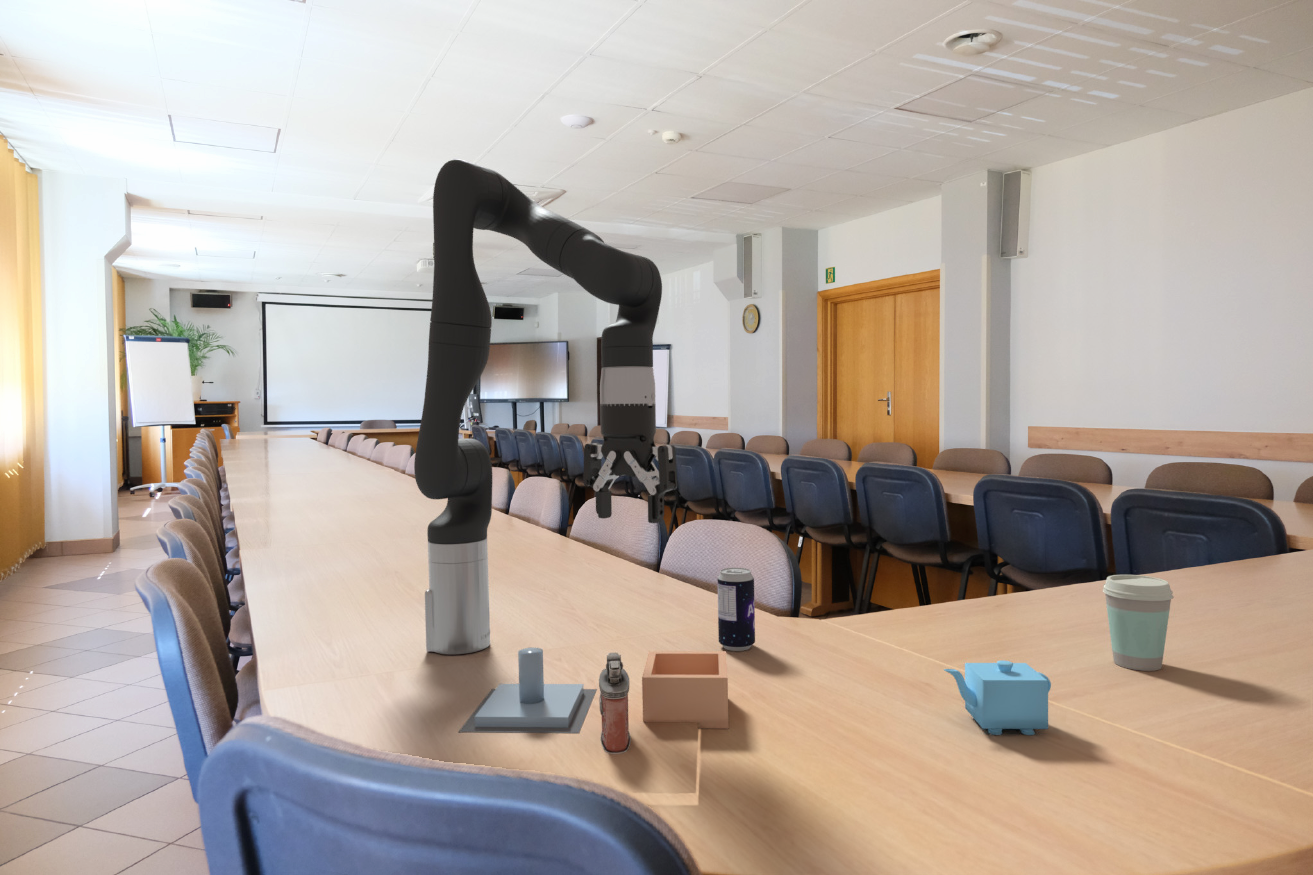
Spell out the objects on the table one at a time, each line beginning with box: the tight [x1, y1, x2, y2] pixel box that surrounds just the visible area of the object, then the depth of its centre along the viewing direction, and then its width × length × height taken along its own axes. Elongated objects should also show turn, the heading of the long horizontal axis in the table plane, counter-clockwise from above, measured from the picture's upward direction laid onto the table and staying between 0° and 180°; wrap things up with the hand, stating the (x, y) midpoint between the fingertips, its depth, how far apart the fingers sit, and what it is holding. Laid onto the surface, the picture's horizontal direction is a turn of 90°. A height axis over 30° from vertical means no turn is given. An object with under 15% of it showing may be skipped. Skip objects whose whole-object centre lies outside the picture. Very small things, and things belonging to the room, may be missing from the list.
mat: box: [458, 688, 597, 734], centre depth 97 cm, size 14×14×1 cm
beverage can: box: [717, 567, 756, 652], centre depth 123 cm, size 6×6×12 cm
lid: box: [475, 647, 585, 727], centre depth 97 cm, size 11×11×7 cm
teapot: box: [943, 660, 1052, 736], centre depth 91 cm, size 12×6×8 cm, turn 86°
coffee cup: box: [1102, 574, 1175, 672], centre depth 111 cm, size 9×8×12 cm
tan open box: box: [641, 650, 729, 730], centre depth 97 cm, size 10×10×6 cm
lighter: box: [598, 651, 632, 755], centre depth 88 cm, size 8×3×10 cm, turn 5°
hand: (629, 520), depth 108 cm, fingers open, 8 cm apart
